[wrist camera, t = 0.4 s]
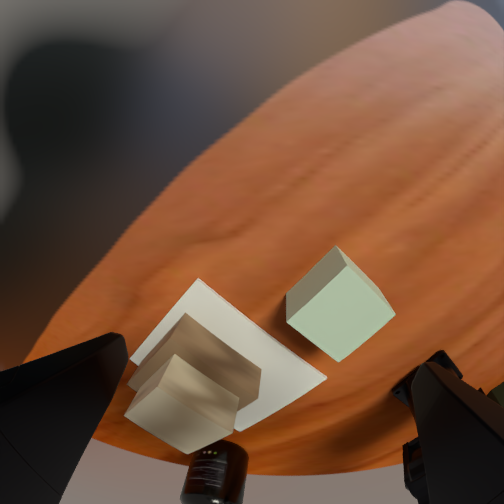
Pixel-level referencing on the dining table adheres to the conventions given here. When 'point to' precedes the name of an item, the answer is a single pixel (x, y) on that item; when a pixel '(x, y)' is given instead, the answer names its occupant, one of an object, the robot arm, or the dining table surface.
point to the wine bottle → (497, 394)
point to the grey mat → (242, 351)
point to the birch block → (183, 407)
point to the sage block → (337, 306)
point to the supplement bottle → (216, 475)
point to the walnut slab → (202, 360)
